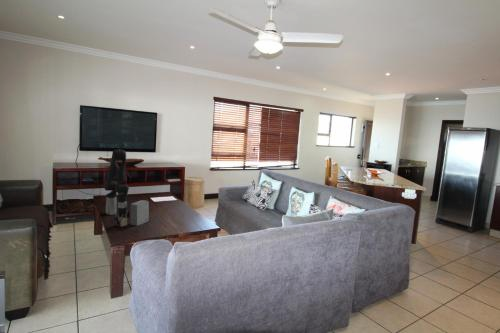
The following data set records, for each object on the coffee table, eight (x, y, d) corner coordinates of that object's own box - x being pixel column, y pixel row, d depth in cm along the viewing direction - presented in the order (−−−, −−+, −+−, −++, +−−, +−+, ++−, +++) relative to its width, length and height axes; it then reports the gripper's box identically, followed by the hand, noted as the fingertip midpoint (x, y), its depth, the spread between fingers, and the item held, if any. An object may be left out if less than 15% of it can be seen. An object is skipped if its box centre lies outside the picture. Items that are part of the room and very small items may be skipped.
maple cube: (117, 225, 259) (117, 219, 258) (122, 223, 264) (122, 217, 263) (121, 226, 256) (121, 220, 255) (127, 224, 261) (127, 218, 261)
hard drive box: (142, 219, 277) (142, 199, 274) (148, 221, 274) (149, 201, 271) (130, 224, 263) (130, 203, 260) (136, 226, 260) (137, 204, 257)
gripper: (125, 204, 265) (125, 220, 268) (112, 207, 253) (112, 225, 255) (131, 205, 262) (131, 222, 265) (118, 209, 250) (118, 227, 252)
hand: (122, 223), depth 260 cm, fingers open, 7 cm apart
